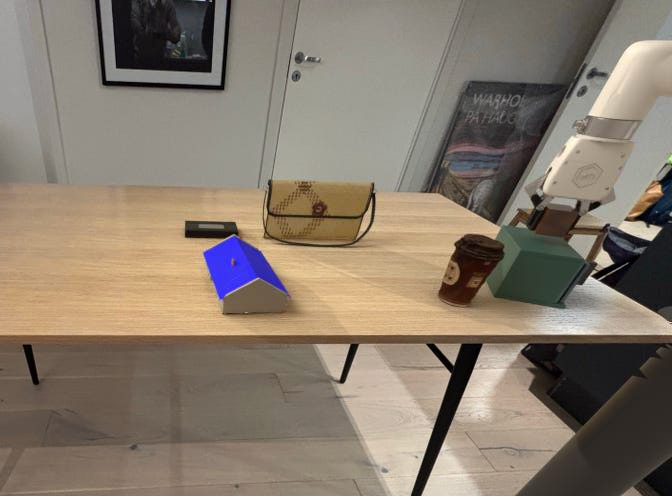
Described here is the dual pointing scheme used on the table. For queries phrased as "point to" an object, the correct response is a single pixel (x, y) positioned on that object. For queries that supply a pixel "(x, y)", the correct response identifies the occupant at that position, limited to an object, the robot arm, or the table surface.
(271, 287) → the roof
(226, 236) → the vhs tape
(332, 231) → the clutch purse
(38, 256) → the table surface
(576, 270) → the cabinet
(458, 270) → the coffee cup
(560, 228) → the walnut block
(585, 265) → the dark grey slanted bar
